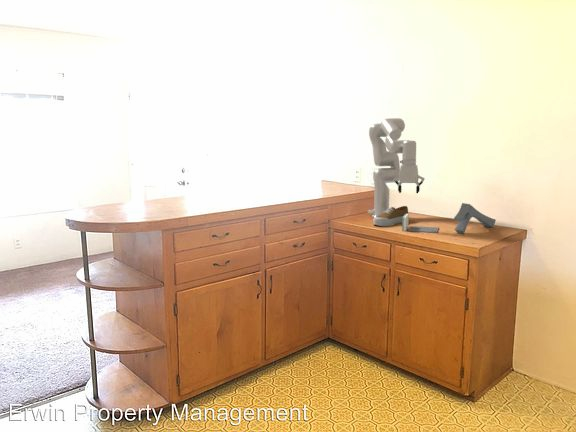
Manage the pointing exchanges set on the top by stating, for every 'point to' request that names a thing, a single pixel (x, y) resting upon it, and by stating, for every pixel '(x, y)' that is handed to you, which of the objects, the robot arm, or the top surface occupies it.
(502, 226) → the top surface
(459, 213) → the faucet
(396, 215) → the sneaker
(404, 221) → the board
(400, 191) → the robot arm
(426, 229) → the mat
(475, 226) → the top surface
